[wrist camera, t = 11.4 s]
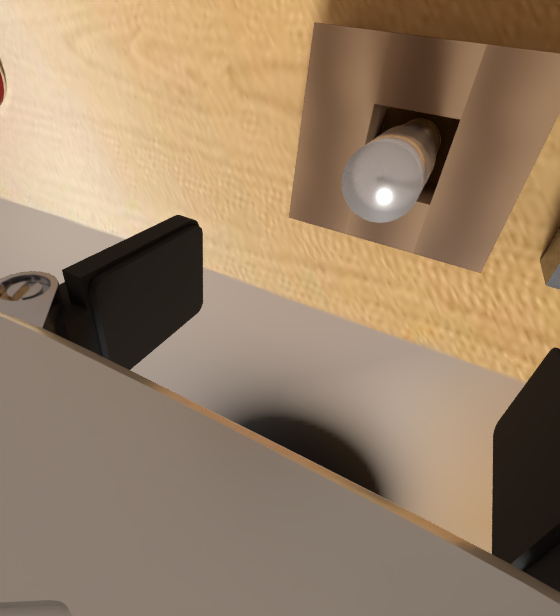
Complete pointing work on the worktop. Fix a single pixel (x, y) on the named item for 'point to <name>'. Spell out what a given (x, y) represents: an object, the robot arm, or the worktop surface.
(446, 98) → the block
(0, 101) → the soda can
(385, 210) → the stepped metal peg
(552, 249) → the socket block
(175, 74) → the worktop surface
